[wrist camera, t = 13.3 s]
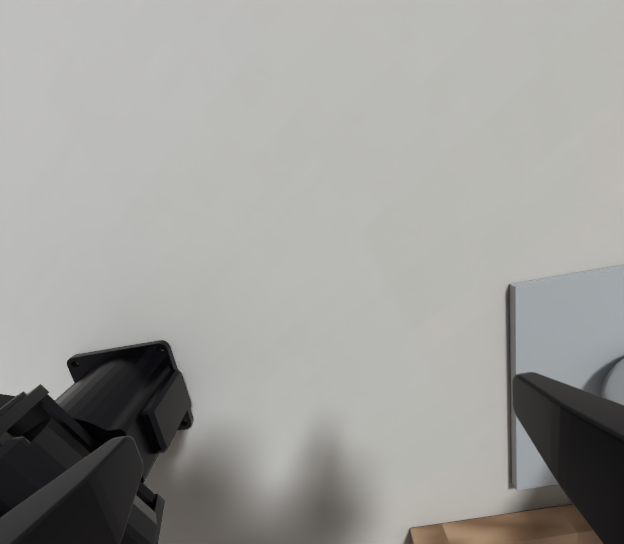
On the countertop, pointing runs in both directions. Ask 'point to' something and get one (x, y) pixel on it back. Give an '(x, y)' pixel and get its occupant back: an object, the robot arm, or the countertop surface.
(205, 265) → the countertop surface
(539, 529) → the pocket frame
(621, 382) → the plastic bottle
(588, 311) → the mat
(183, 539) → the countertop surface
